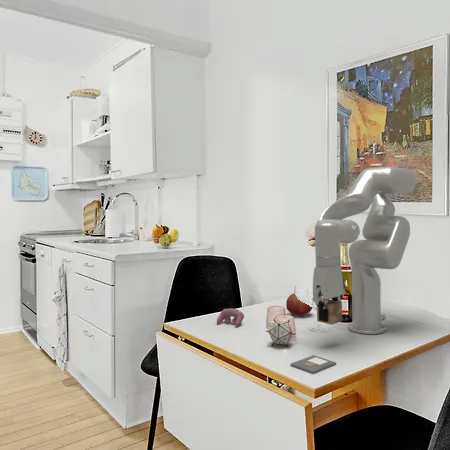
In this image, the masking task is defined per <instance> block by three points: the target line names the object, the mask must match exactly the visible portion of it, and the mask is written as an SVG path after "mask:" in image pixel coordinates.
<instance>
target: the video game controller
mask: <svg viewBox="0 0 450 450" xmlns="http://www.w3.org/2000/svg"><path fill="white" fill-rule="evenodd" d="M231 317H233V318H231ZM244 318H245V314H244V313H243V312H242V311H240V310H238V309H236V308H231V307H230V308H223V310H221V312H220V313H219V315H218V316H217V318H216V324H217V325H220V324H222V322H223V321H224V323H226V324H232V325H233V326H234V325H235V327H236V328H239V327H240V326H241V324H242V322H243V320H244Z"/></svg>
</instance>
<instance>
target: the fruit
mask: <svg viewBox="0 0 450 450" xmlns="http://www.w3.org/2000/svg"><path fill="white" fill-rule="evenodd" d="M295 293H296V292H293V293H291V294H290V295H289V296H288V297H287V299H286V302H285V303H286V305H285V307H286V310H287V311H288V312H289V313H290V315H295V316H300V315H301V316H305V315H307V314H309V313H310V312H311V311H312V309H313V307H310V306H309V305H307V304H305V303H303V302H301V301H300V300H298V299H297V297H296V295H295Z"/></svg>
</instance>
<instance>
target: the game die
mask: <svg viewBox="0 0 450 450" xmlns="http://www.w3.org/2000/svg"><path fill="white" fill-rule="evenodd" d="M272 321H273V323H272V325H271V327H270V328H269V329H268V330H265V331H266V333H268V335H269V336H270V339H271V341H272V344H271V346H272V347H273V346H274V345H285V346H286V347H287V348H289V345H288V344H289V342H290V341H291V338H292V337H293V336H296V333H294V332H293V330H292V328H291V325H290V324H289V323H290V321H291V320H290V319H289V320H287V321H282V320H281V321H278V320H276V319H275V318H273V320H272Z"/></svg>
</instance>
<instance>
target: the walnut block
mask: <svg viewBox="0 0 450 450" xmlns="http://www.w3.org/2000/svg"><path fill="white" fill-rule="evenodd" d="M322 303H324V301H323V300H322ZM326 309H328V322H324V321H320V320H319V308H317V307H316V320H317V321H316V322H319V323H324V324H327V325H335V324H337V323H341V322H343V320H344V319H343V302H342V301H341V302H340V301H334V300H331V299H328V302H327V308H326Z"/></svg>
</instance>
